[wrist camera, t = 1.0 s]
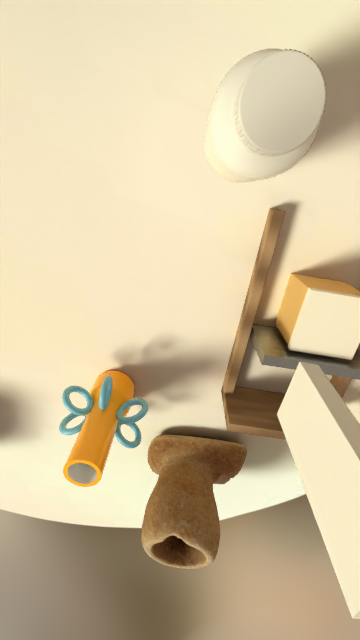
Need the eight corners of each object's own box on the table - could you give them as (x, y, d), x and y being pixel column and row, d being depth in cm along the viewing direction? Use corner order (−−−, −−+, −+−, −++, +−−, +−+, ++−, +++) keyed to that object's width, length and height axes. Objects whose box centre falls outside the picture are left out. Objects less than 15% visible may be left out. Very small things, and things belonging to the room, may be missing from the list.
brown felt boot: (145, 474, 53) (129, 575, 39) (152, 422, 48) (136, 517, 34) (229, 485, 53) (243, 589, 39) (245, 435, 48) (267, 534, 34)
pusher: (251, 324, 40) (264, 355, 32) (348, 339, 40) (383, 373, 33) (248, 332, 40) (261, 364, 33) (344, 347, 41) (378, 382, 33)
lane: (269, 208, 34) (291, 214, 27) (407, 232, 35) (465, 244, 27) (221, 391, 45) (227, 430, 37) (327, 407, 45) (353, 449, 38)
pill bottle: (293, 114, 30) (378, 55, 17) (257, 194, 34) (303, 198, 20) (222, 80, 29) (250, -12, 16) (192, 165, 33) (193, 150, 19)
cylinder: (168, 387, 45) (159, 476, 31) (126, 426, 48) (101, 521, 34) (102, 339, 42) (59, 413, 28) (62, 384, 45) (7, 470, 31)
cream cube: (290, 272, 37) (311, 290, 31) (346, 281, 37) (379, 301, 31) (273, 323, 40) (289, 350, 34) (325, 332, 40) (351, 359, 34)
